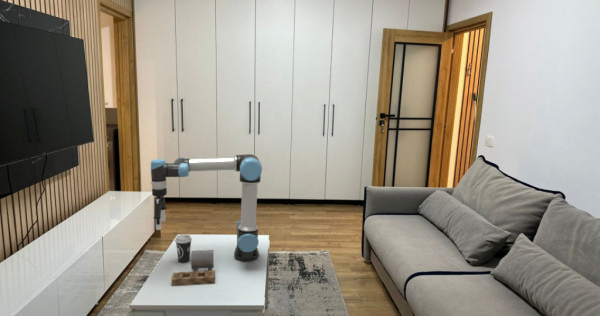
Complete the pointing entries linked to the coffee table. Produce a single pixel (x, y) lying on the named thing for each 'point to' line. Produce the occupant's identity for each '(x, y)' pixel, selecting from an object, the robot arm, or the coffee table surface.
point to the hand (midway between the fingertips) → (161, 225)
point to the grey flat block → (202, 260)
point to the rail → (193, 278)
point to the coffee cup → (183, 248)
